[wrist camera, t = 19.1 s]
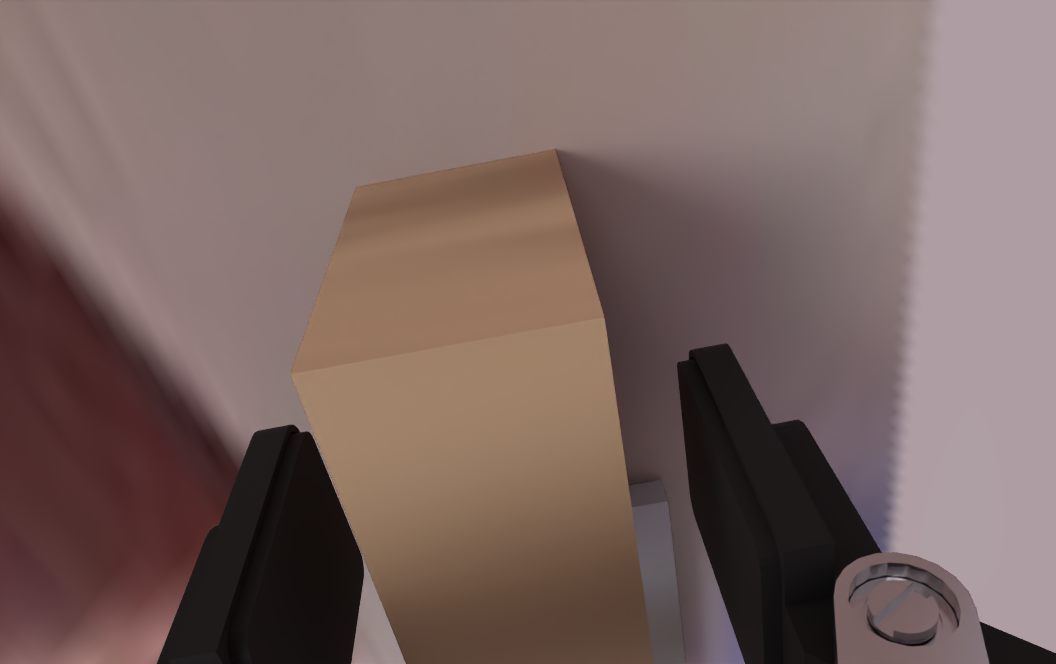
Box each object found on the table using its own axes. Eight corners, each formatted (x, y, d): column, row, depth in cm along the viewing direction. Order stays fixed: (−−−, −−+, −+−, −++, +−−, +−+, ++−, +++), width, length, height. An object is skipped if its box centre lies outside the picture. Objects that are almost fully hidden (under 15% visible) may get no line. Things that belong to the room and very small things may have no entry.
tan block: (290, 199, 12) (187, 393, 7) (622, 136, 12) (712, 297, 7) (464, 696, 18) (463, 956, 14) (681, 660, 18) (748, 912, 14)
